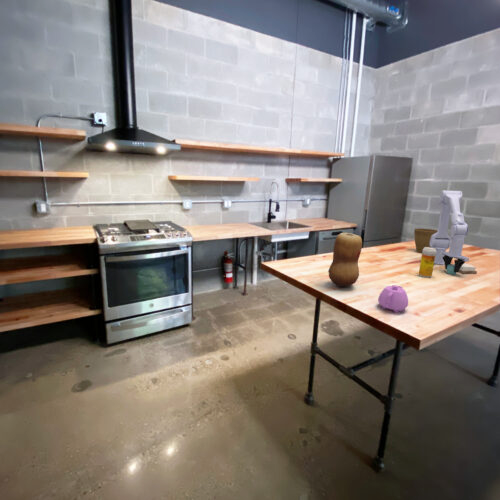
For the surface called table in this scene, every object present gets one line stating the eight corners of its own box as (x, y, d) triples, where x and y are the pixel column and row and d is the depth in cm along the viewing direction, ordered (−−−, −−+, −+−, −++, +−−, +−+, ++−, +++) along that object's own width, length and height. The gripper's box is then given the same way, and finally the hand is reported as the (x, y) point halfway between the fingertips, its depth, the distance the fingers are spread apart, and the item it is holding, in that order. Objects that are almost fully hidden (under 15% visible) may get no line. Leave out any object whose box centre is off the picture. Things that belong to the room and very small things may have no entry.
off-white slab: (462, 270, 162) (463, 267, 162) (453, 267, 169) (454, 263, 168) (474, 270, 162) (475, 267, 162) (465, 267, 169) (465, 263, 169)
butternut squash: (353, 293, 130) (359, 237, 125) (323, 287, 137) (328, 234, 131) (360, 284, 142) (366, 233, 136) (332, 278, 149) (337, 229, 143)
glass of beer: (427, 278, 153) (432, 250, 149) (416, 274, 158) (420, 247, 155) (434, 276, 156) (439, 249, 152) (423, 273, 161) (427, 246, 157)
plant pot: (439, 255, 202) (444, 232, 198) (417, 254, 202) (421, 231, 198) (427, 250, 216) (431, 228, 213) (407, 249, 216) (410, 227, 213)
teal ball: (446, 273, 161) (448, 265, 160) (445, 271, 165) (447, 263, 164) (456, 275, 159) (458, 267, 158) (455, 272, 163) (457, 264, 162)
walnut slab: (462, 275, 162) (462, 271, 161) (451, 270, 170) (452, 267, 169) (476, 275, 162) (476, 271, 162) (465, 270, 170) (465, 267, 169)
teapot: (372, 309, 115) (375, 286, 113) (385, 298, 126) (388, 277, 124) (400, 318, 108) (404, 294, 106) (412, 305, 119) (416, 283, 117)
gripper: (438, 244, 164) (434, 267, 167) (464, 250, 150) (458, 275, 154) (447, 243, 166) (443, 266, 169) (474, 249, 152) (468, 274, 156)
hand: (451, 270), depth 161 cm, fingers closed on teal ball, 5 cm apart
